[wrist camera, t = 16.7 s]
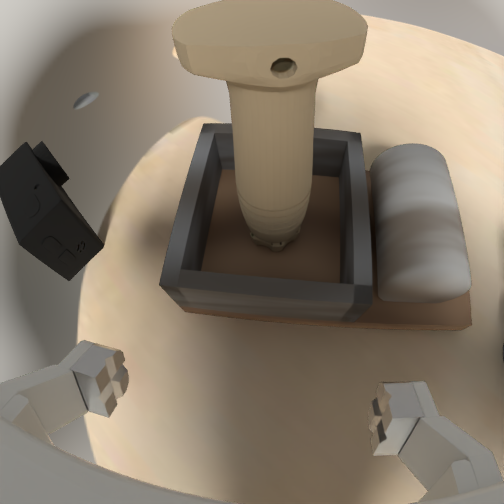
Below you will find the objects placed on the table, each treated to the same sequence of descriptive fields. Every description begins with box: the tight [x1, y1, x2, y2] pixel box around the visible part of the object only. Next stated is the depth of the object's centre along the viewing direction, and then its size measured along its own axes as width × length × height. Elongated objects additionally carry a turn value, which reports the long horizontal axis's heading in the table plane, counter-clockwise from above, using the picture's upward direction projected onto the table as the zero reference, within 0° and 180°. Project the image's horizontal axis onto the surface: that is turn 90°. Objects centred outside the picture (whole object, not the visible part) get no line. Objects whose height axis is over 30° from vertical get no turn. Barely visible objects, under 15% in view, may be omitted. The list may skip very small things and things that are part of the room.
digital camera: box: [0, 141, 104, 281], centre depth 22 cm, size 10×5×7 cm, turn 46°
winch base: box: [159, 123, 472, 330], centre depth 20 cm, size 12×20×7 cm, turn 83°
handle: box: [172, 0, 368, 252], centre depth 15 cm, size 5×6×15 cm
